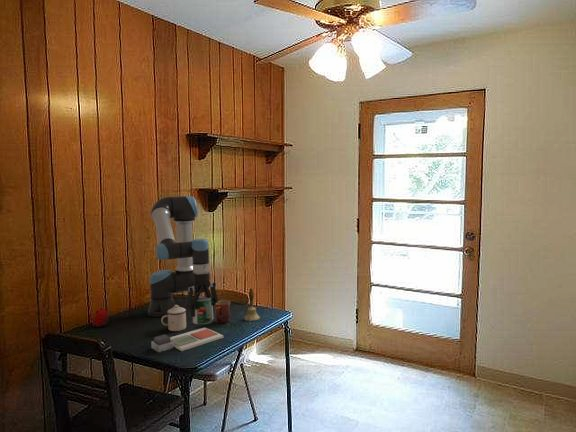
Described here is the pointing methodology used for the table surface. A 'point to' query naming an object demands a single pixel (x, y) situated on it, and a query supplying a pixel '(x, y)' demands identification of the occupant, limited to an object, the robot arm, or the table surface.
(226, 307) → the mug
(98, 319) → the red clay folk toy
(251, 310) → the hand bell
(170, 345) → the button base
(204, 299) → the canned tomato
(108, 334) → the table surface
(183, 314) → the teacup with lid
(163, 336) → the button
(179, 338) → the picture board
